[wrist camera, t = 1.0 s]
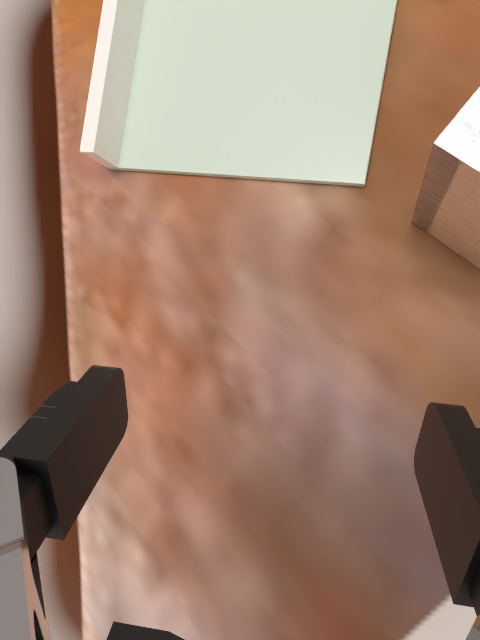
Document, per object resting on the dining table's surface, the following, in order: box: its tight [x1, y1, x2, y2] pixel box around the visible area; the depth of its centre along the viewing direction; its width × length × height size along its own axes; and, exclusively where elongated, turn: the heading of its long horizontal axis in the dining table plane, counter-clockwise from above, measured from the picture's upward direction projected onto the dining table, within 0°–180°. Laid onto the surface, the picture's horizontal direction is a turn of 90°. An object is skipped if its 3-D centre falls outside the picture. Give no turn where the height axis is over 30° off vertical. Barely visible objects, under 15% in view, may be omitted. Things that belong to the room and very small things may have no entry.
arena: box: [80, 0, 398, 187], centre depth 29 cm, size 20×20×4 cm
